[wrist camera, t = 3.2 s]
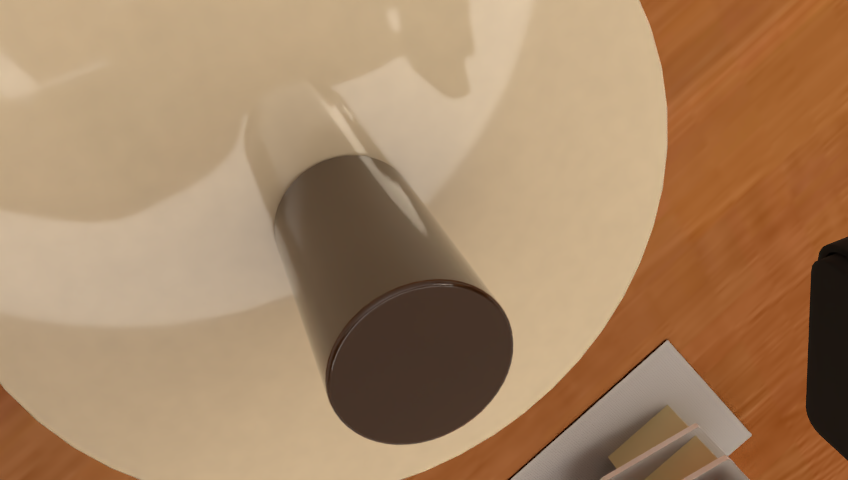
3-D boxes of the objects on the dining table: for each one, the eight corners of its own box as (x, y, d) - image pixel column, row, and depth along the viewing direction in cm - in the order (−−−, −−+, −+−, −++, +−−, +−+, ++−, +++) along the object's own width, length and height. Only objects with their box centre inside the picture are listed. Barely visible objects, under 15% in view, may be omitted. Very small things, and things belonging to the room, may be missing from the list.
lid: (133, 554, 20) (134, 821, 15) (-253, -54, 13) (-541, 44, 7) (661, 339, 23) (827, 503, 17) (606, -284, 15) (874, -339, 10)
